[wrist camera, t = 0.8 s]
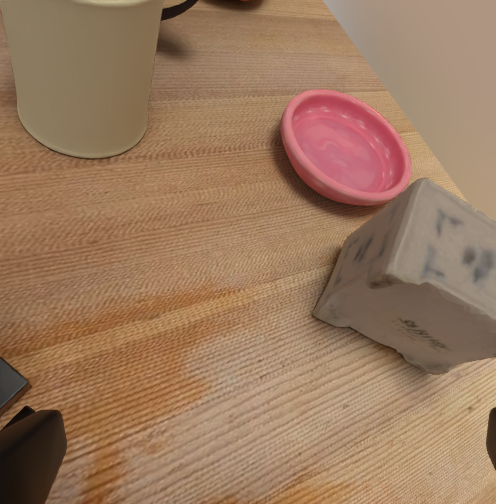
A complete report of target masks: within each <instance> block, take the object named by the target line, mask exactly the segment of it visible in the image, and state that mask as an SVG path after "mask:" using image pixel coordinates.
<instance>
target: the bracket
mask: <svg viewBox="0 0 496 504" xmlns="http://www.w3.org/2000/svg"><path fill="white" fill-rule="evenodd" d="M30 388H31V384H30V382H29V381H28V380H27V379H26V378H25V377H24V376H22V375H21V374H20V373H19V372H18V371H17V370H15V369H14V368H13V367H12V366H11V365H10V364H8V363H7V362H6V361H5V360H4V359H3V358H1V357H0V417H1V416H2V415H3V414H4V413H5V412H6V411H7V410H8V409H9V408H10V407H11V406H12V405H13V404H14V403H15V402H16V401H17V400H18V399H19V398H20V397H21V396H22V395H24V394H25V393H26V392H27V391H28V390H29V389H30Z"/></svg>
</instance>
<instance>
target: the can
mask: <svg viewBox="0 0 496 504" xmlns="http://www.w3.org/2000/svg"><path fill="white" fill-rule="evenodd" d="M163 2H164V0H0V8H1V13H2V18H3V23H4V28H5V33H6V38H7V43H8V49H9V54H10V59H11V64H12V70H13V75H14V81H15V87H16V93H17V112H18V116H19V118H20V121H21V123H22V124H23V126H24V127H25V129H26V130H27V131H28V132H29V133H30V134H31V135H32V136H33V137H34V138H35V139H36V140H37V141H39V142H40V143H42V144H43V145H45V146H47V147H48V148H50V149H52V150H55V151H57V152H60V153H63V154H66V155H69V156H74V157H80V158H105V157H111V156H115V155H118V154H121V153H123V152H125V151H127V150H129V149H131V148H132V147H134V146H135V145H136V144H137V143H138V142H139V141H140V140H141V139H142V137H143V136H144V134H145V132H146V129H147V125H148V114H147V112H148V103H149V95H150V88H151V81H152V73H153V66H154V60H155V53H156V47H157V40H158V34H159V27H160V21H161V14H162V8H163Z"/></svg>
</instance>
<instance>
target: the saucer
mask: <svg viewBox="0 0 496 504" xmlns="http://www.w3.org/2000/svg"><path fill="white" fill-rule="evenodd" d="M280 129H281V137H282V141H283V144H284V148H285V151H286V153H287V156H288V158H289V160H290V162H291V165H292V166H293V168H294V170H295V171H296V173H297V174H298V175H299V177H300V178H301V179H302V180H303V181H304V182H305V183H306V184H307V185H308V186H309V187H310V188H312V189H313V190H314V191H315V192H317V193H319V194H320V195H322V196H324V197H326V198H328V199H331V200H333V201H336V202H340V203H346V204H352V205H362V206H363V205H379V204H384V203H386V202H389V201H391V200H393V199H394V198H396V197H397V196H398V195H399V194H400V193H401V192H403V190H404V189H405V188H406V187H407V185H408V183H409V181H410V178H411V160H410V156H409V153H408V150H407V148H406V146H405V144H404V142H403V140H402V139H401V137H400V136H399V134H398V133H397V131H396V130H395V129H394V128H393V126H392V125H391V124H390V123H389V122H388V121H387V120H386V119H385V118H384V117H383V116H382V115H380V114H379V113H378V112H377V111H376V110H374V109H373V108H372V107H370V106H369V105H367V104H366V103H364V102H362V101H361V100H359V99H357V98H355V97H352V96H350V95H347V94H344V93H341V92H337V91H333V90H325V89H315V90H309V91H305V92H302V93H300V94H298V95H297V96H295V97H294V98H293V99H292V100H291V101H290V102H289V103H288V105H287V106H286V108H285V110H284V112H283V115H282V118H281V125H280Z"/></svg>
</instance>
